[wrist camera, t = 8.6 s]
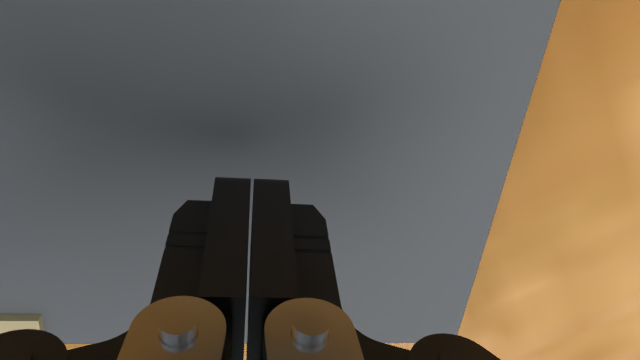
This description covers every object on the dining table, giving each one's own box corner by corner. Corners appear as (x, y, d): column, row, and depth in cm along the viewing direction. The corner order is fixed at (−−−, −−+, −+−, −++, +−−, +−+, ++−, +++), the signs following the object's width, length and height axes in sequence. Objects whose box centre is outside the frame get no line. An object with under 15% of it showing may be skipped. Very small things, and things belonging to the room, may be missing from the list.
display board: (-919, -325, 9) (-1082, -353, 8) (578, -131, 13) (609, -132, 12) (-423, 320, 16) (-473, 353, 15) (446, 322, 20) (457, 348, 19)
